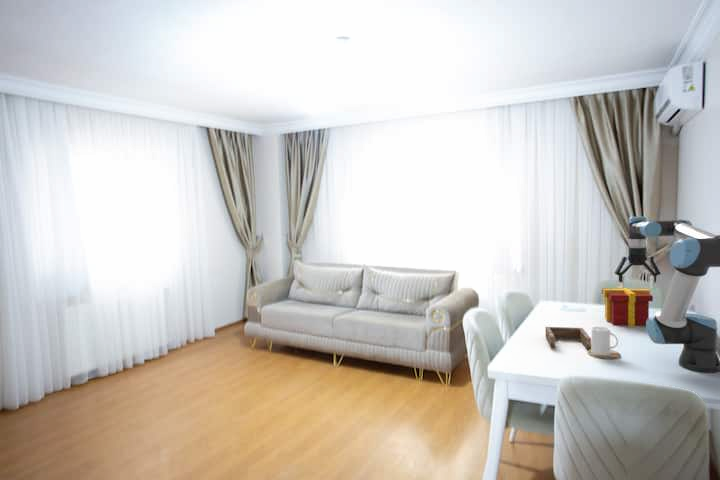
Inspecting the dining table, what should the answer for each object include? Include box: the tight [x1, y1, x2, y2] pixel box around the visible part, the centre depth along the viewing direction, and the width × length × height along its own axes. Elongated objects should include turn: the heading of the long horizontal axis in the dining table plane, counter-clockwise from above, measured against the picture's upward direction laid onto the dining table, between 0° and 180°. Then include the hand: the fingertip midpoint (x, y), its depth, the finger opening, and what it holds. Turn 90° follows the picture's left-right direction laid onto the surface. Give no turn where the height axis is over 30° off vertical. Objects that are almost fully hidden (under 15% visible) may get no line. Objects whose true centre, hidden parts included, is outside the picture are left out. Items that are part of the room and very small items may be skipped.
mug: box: [591, 326, 619, 355], centre depth 218 cm, size 12×8×12 cm
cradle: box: [545, 326, 592, 351], centre depth 238 cm, size 20×19×6 cm
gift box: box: [601, 285, 654, 328], centre depth 274 cm, size 25×25×20 cm
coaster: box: [587, 348, 621, 360], centre depth 218 cm, size 14×14×1 cm
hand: (637, 288), depth 226 cm, fingers open, 13 cm apart
